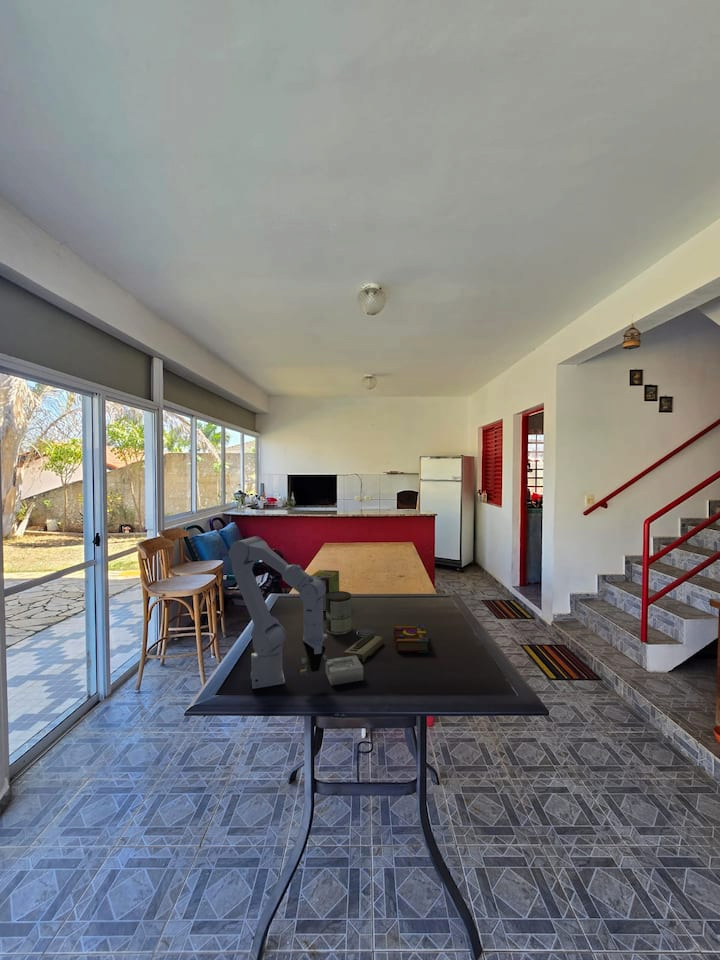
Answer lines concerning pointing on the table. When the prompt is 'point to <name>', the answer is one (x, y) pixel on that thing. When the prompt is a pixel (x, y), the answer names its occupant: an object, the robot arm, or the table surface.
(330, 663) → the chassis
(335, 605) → the coffee can
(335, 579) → the protein box
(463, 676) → the table surface
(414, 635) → the decorative book
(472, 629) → the table surface
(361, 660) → the computer
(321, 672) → the block
